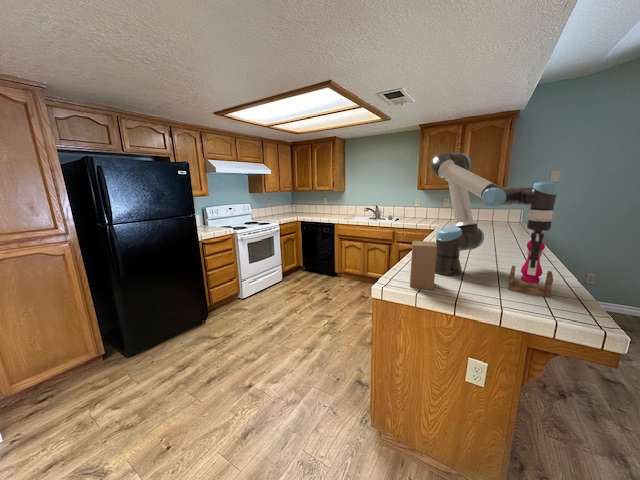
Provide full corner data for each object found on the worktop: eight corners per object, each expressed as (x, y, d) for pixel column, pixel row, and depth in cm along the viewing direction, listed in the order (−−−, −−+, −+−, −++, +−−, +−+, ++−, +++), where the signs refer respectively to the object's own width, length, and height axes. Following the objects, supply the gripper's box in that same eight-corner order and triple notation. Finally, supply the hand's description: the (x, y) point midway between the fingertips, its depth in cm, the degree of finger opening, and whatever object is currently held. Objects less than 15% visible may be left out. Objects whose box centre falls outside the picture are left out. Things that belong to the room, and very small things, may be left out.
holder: (507, 289, 114) (510, 271, 112) (509, 281, 122) (512, 265, 120) (549, 297, 105) (553, 278, 103) (548, 289, 113) (551, 271, 111)
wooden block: (431, 282, 123) (435, 241, 119) (433, 290, 114) (437, 246, 110) (410, 279, 127) (412, 240, 122) (409, 287, 117) (412, 245, 113)
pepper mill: (544, 284, 108) (552, 238, 104) (525, 283, 110) (532, 237, 106) (534, 278, 115) (541, 235, 111) (516, 277, 117) (522, 234, 112)
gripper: (553, 223, 97) (543, 280, 102) (550, 218, 112) (541, 267, 117) (527, 222, 102) (519, 276, 106) (528, 216, 117) (521, 264, 122)
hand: (531, 272), depth 112 cm, fingers closed on pepper mill, 7 cm apart
